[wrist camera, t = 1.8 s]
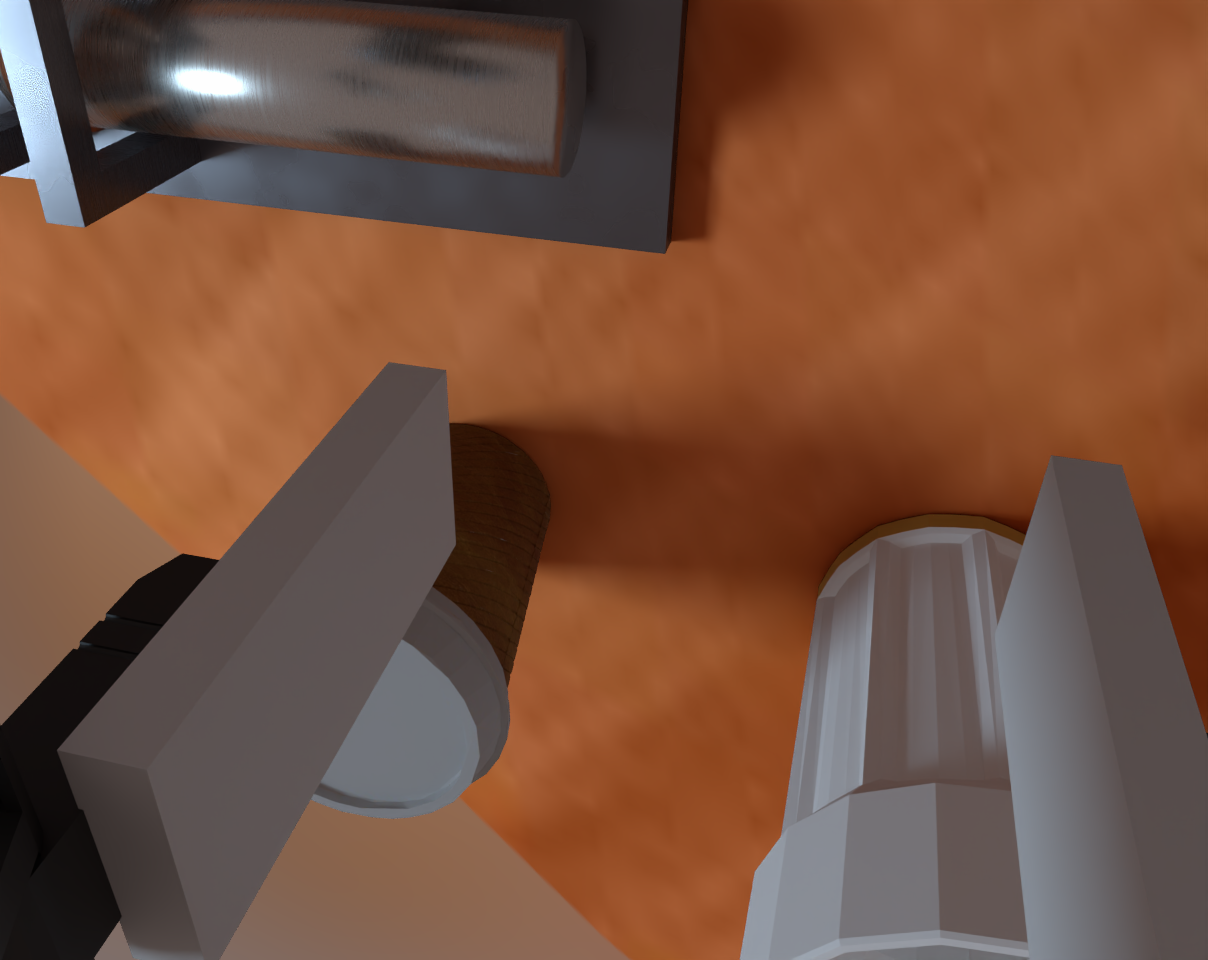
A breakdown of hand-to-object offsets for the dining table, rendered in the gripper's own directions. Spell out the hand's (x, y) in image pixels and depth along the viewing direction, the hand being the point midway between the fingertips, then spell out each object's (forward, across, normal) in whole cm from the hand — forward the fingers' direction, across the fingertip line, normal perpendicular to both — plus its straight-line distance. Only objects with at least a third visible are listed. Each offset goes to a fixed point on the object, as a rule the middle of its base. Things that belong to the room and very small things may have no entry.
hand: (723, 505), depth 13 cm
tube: (+20, -15, 0) cm, 24 cm away
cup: (+21, +7, -18) cm, 29 cm away
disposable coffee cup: (+21, -11, -16) cm, 29 cm away
